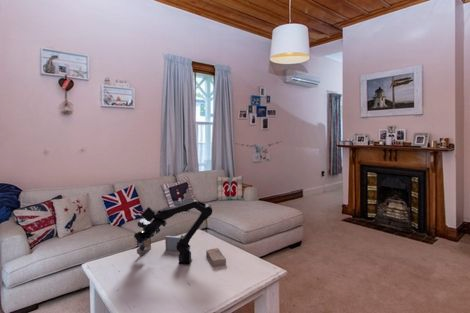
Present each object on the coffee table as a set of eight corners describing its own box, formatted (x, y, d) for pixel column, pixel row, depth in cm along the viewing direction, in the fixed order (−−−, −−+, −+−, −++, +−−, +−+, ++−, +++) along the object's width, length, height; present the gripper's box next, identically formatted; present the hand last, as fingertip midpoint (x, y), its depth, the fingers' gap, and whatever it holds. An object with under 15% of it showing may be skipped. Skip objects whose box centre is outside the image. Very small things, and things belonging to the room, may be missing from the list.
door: (151, 248, 191) (150, 233, 190) (141, 256, 178) (140, 240, 178) (149, 247, 191) (148, 233, 190) (139, 255, 179) (138, 240, 178)
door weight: (150, 251, 172) (149, 231, 171) (140, 255, 167) (139, 234, 166) (144, 249, 176) (143, 228, 175) (134, 252, 171) (133, 231, 170)
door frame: (183, 250, 188) (183, 236, 187) (182, 251, 186) (182, 238, 185) (149, 247, 193) (149, 234, 192) (148, 248, 191) (147, 235, 190)
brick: (226, 265, 166) (226, 258, 165) (213, 268, 163) (213, 260, 162) (218, 254, 181) (218, 247, 181) (205, 256, 178) (205, 249, 178)
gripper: (155, 211, 177) (141, 226, 182) (135, 220, 160) (121, 237, 164) (166, 224, 176) (152, 239, 180) (148, 234, 158) (133, 251, 163)
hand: (140, 241), depth 172 cm, fingers closed on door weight, 3 cm apart
